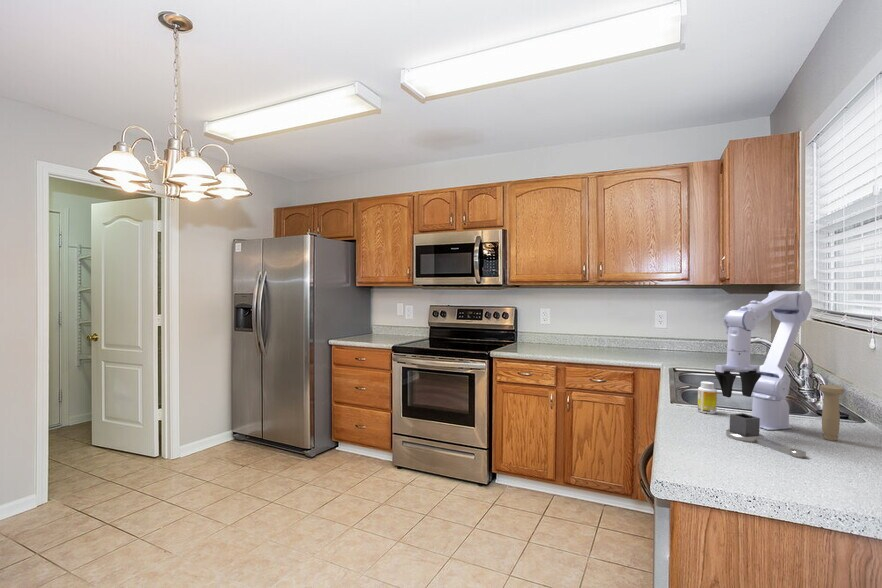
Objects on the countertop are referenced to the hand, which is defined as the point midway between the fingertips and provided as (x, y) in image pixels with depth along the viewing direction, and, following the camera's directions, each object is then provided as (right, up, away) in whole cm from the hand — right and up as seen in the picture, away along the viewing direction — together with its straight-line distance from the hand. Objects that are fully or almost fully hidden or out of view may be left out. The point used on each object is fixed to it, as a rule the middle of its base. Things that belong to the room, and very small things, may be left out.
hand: (736, 396), depth 132 cm
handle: (+23, -11, -6) cm, 26 cm away
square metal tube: (-1, -9, -5) cm, 11 cm away
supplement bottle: (+4, -11, +21) cm, 24 cm away
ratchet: (0, -11, -11) cm, 15 cm away
